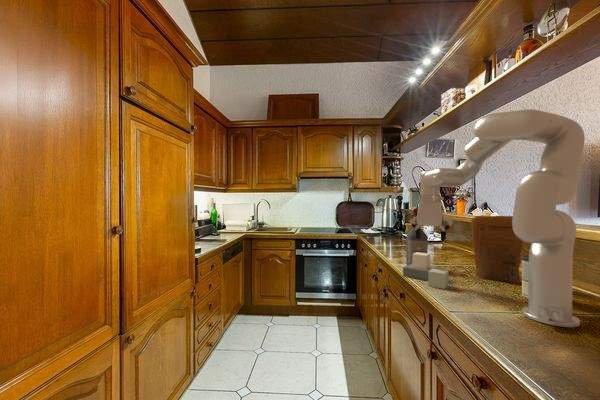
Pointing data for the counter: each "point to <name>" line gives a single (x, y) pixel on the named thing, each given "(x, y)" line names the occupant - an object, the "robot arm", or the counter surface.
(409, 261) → the liquor
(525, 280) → the coffee can
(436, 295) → the counter surface
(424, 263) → the cream block
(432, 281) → the sage block
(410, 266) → the pedestal
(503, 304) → the counter surface
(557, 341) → the counter surface
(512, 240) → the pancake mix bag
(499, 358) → the counter surface
